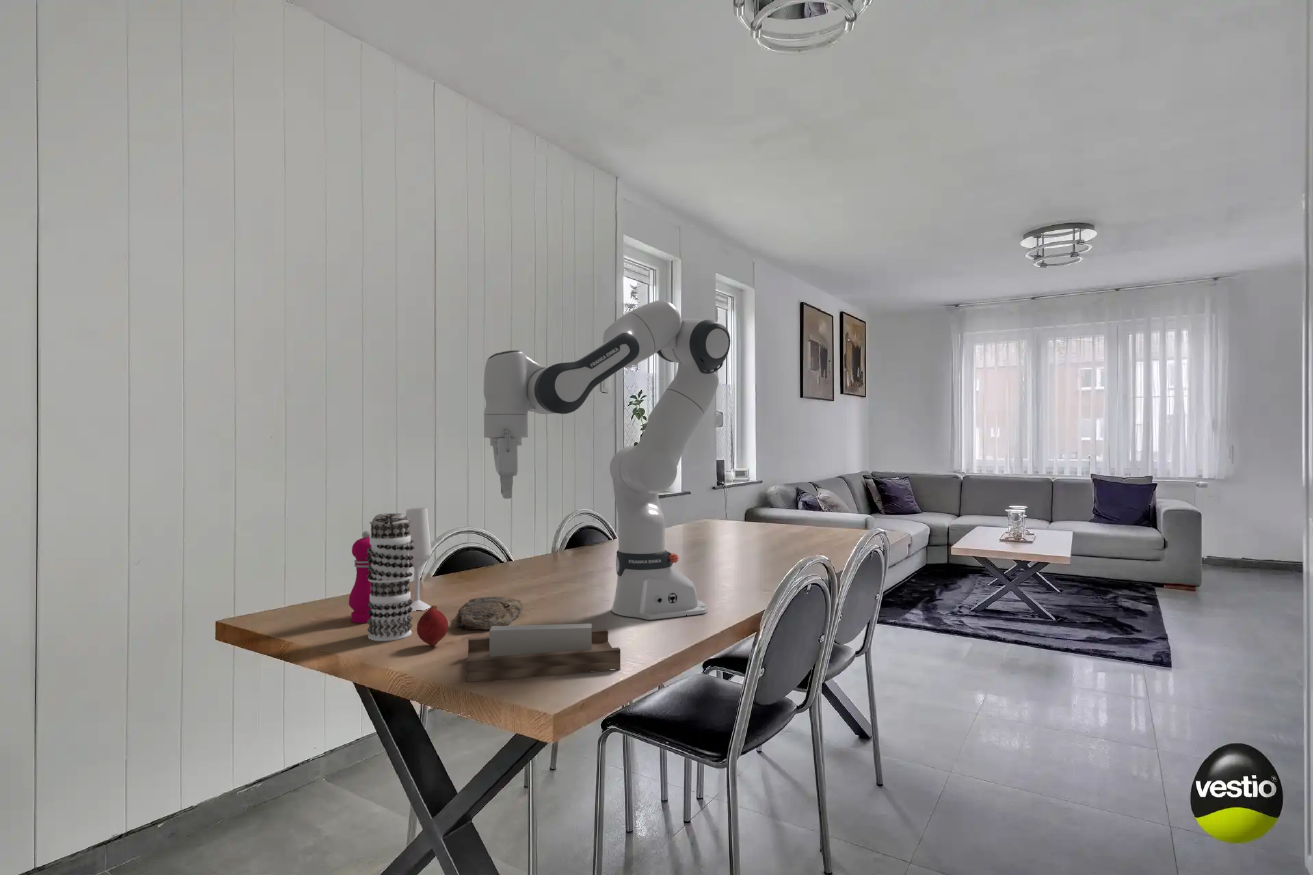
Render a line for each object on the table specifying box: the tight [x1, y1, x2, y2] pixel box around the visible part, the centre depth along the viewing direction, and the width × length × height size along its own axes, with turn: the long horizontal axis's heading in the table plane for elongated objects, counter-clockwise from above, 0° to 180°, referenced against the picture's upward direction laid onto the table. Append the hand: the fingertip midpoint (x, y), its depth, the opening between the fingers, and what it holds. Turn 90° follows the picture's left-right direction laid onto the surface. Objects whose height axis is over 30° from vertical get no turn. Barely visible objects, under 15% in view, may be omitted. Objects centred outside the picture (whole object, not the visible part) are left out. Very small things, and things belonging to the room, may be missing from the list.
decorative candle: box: [366, 512, 414, 642], centre depth 144 cm, size 9×9×25 cm
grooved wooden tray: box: [466, 628, 621, 683], centre depth 125 cm, size 26×14×4 cm, turn 104°
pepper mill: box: [348, 530, 371, 624], centre depth 157 cm, size 7×7×20 cm
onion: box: [416, 604, 449, 647], centre depth 136 cm, size 6×6×8 cm
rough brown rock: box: [453, 596, 524, 631], centre depth 156 cm, size 14×5×20 cm
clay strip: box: [489, 623, 593, 657], centre depth 125 cm, size 18×3×5 cm, turn 96°
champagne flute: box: [405, 506, 432, 612], centre depth 168 cm, size 7×7×24 cm
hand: (506, 496), depth 143 cm, fingers open, 8 cm apart
